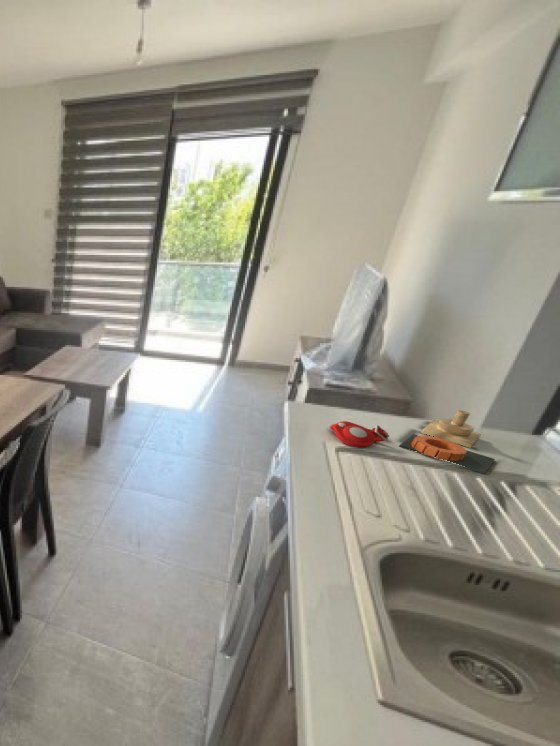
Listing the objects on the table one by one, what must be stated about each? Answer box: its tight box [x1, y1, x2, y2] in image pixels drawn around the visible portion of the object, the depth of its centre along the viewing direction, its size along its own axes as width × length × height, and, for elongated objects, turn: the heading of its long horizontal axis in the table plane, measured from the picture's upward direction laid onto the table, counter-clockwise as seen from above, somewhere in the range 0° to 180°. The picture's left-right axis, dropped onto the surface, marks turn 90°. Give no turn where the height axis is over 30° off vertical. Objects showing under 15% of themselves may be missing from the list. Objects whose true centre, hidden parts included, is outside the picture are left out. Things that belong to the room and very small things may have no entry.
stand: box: [421, 409, 482, 449], centre depth 127 cm, size 10×10×7 cm
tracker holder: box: [330, 420, 390, 449], centre depth 123 cm, size 12×4×10 cm
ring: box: [411, 435, 468, 461], centre depth 118 cm, size 10×10×2 cm
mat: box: [398, 433, 496, 475], centre depth 119 cm, size 16×12×1 cm
